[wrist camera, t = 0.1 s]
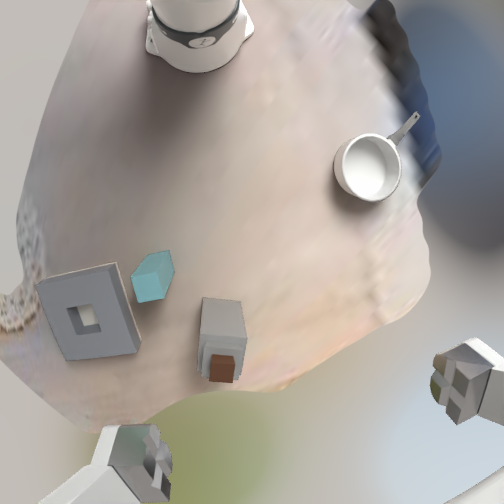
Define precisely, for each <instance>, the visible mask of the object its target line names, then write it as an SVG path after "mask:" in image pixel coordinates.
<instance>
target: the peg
mask: <svg viewBox="0 0 504 504" xmlns="http://www.w3.org/2000/svg"><path fill="white" fill-rule="evenodd" d="M173 275H174V268H173V264H172V260H171V256H170V252H169V250H168V251H163V252H158V253H154V254H149V255H147V256H146V257H145V259H144V260H143V261H142V263H141V264H140V265H139V266H138V268H137V269H136V270H135V272H134V273H133V274H132V276H131V281H132V284H133V287H134V291H135V294H136V297H137V300H138V303H141V302H147V301H152V300H158V299H163V298H165V295H166V293H167V290H168V287H169V285H170V282H171V280H172V277H173Z"/></svg>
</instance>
